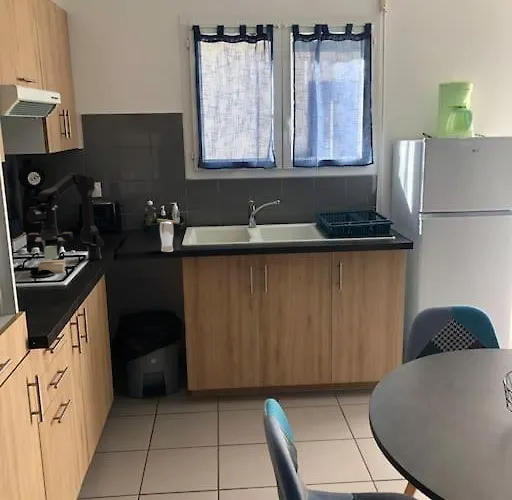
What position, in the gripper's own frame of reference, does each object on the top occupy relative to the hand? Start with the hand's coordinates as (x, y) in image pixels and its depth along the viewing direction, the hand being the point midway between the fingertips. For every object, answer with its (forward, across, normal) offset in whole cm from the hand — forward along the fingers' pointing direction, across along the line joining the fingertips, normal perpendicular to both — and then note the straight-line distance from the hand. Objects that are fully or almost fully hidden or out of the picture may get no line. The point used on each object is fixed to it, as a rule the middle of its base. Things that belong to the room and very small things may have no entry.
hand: (51, 255), depth 253 cm
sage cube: (+1, 0, 0) cm, 1 cm away
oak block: (+7, 0, 0) cm, 7 cm away
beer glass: (+7, +50, +39) cm, 64 cm away
